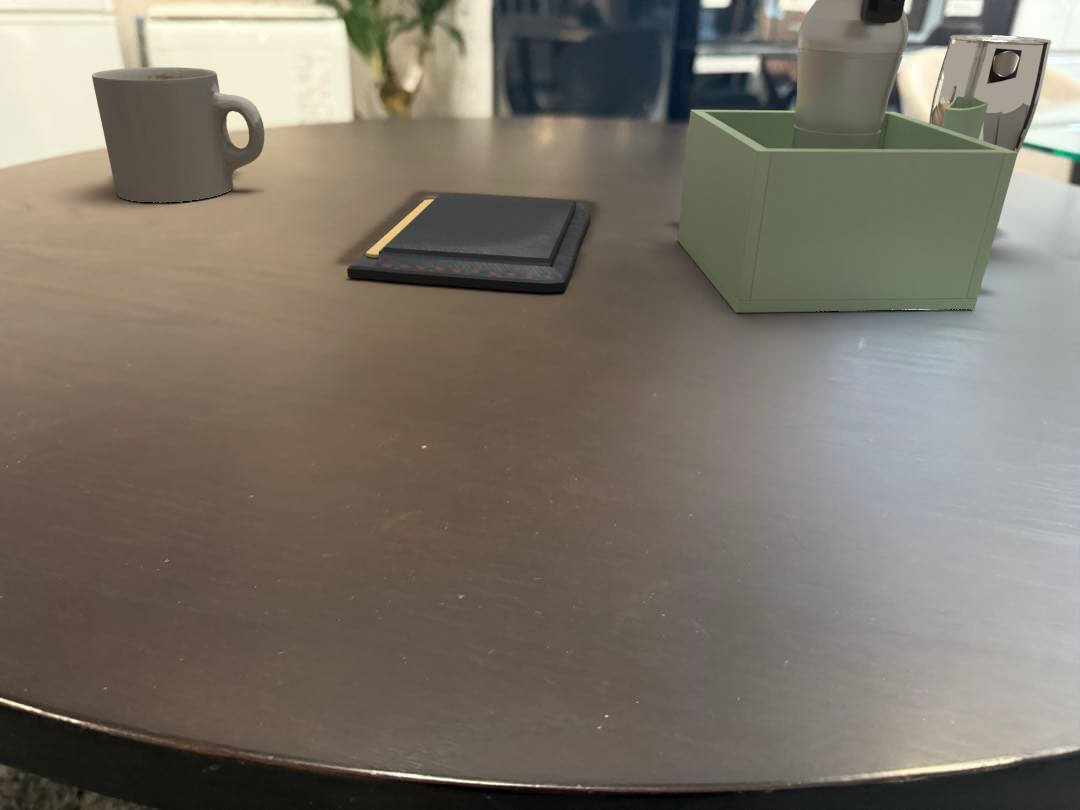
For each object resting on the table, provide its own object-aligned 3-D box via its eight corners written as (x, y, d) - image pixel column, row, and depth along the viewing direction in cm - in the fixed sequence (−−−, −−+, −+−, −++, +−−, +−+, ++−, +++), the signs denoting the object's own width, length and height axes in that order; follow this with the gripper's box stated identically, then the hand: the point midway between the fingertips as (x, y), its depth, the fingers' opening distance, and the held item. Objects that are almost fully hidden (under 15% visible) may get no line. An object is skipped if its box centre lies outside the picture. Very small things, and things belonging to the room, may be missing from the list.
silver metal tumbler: (885, 239, 67) (929, 35, 60) (928, 226, 71) (974, 33, 64) (970, 261, 62) (1029, 43, 55) (1011, 245, 66) (1071, 39, 59)
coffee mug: (92, 199, 73) (65, 77, 68) (155, 175, 81) (134, 65, 77) (238, 208, 71) (220, 84, 66) (286, 183, 80) (272, 71, 75)
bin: (868, 239, 67) (894, 111, 62) (974, 310, 53) (1018, 152, 49) (677, 240, 66) (690, 109, 61) (735, 313, 52) (758, 150, 47)
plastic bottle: (872, 279, 56) (945, -65, 46) (768, 272, 56) (820, -67, 47) (855, 250, 61) (917, -61, 52) (761, 244, 62) (806, -63, 53)
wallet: (564, 267, 53) (335, 250, 55) (563, 296, 54) (338, 278, 56) (599, 194, 70) (424, 184, 72) (598, 217, 71) (425, 205, 73)
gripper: (1075, -378, 38) (977, 28, 46) (920, -291, 51) (864, 15, 58) (917, -387, 37) (846, 25, 45) (800, -297, 50) (760, 13, 58)
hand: (857, 18), depth 52 cm, fingers closed on plastic bottle, 5 cm apart
